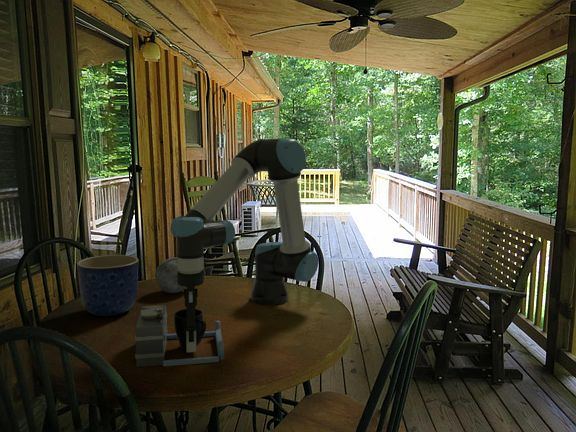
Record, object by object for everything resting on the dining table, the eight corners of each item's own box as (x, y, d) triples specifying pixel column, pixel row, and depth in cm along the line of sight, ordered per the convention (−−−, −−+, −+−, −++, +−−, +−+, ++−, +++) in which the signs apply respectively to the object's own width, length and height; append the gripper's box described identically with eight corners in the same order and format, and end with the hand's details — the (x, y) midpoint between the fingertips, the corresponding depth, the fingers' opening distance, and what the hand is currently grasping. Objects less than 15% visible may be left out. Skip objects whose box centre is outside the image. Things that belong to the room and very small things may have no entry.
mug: (191, 356, 125) (190, 323, 123) (169, 343, 133) (168, 312, 132) (216, 347, 130) (215, 316, 129) (193, 335, 139) (192, 306, 137)
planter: (78, 325, 150) (75, 270, 147) (79, 306, 168) (77, 257, 166) (142, 317, 158) (141, 264, 155) (137, 300, 176) (136, 253, 174)
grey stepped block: (167, 338, 140) (166, 298, 138) (164, 365, 122) (163, 319, 120) (142, 340, 138) (141, 299, 136) (135, 367, 120) (134, 321, 119)
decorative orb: (181, 285, 197) (180, 252, 195) (198, 293, 187) (198, 258, 185) (149, 292, 187) (148, 257, 185) (166, 300, 177) (165, 263, 175)
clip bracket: (220, 334, 144) (219, 319, 143) (224, 361, 125) (224, 344, 124) (167, 337, 140) (166, 322, 140) (163, 366, 121) (162, 348, 121)
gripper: (178, 262, 139) (179, 330, 142) (175, 281, 118) (177, 361, 121) (202, 261, 141) (203, 329, 144) (204, 280, 119) (205, 359, 122)
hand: (191, 344), depth 132 cm, fingers closed on mug, 10 cm apart
